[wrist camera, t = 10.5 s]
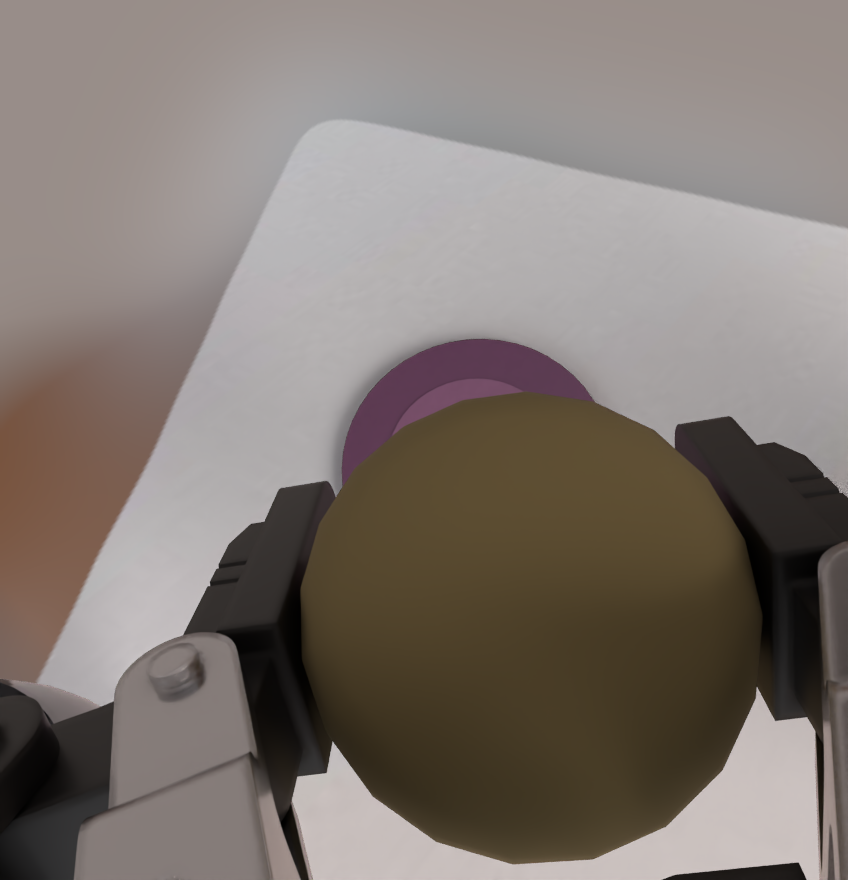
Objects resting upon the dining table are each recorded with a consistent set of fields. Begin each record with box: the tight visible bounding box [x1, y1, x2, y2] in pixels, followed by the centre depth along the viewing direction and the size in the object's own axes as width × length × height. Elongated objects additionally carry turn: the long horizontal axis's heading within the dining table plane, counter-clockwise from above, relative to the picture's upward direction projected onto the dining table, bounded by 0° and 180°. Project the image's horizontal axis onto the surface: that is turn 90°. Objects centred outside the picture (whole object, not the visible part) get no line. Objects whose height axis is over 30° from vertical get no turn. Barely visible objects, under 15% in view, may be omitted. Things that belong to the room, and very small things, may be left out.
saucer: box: [342, 339, 594, 486], centre depth 37 cm, size 13×13×1 cm
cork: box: [301, 391, 763, 864], centre depth 12 cm, size 6×6×11 cm
